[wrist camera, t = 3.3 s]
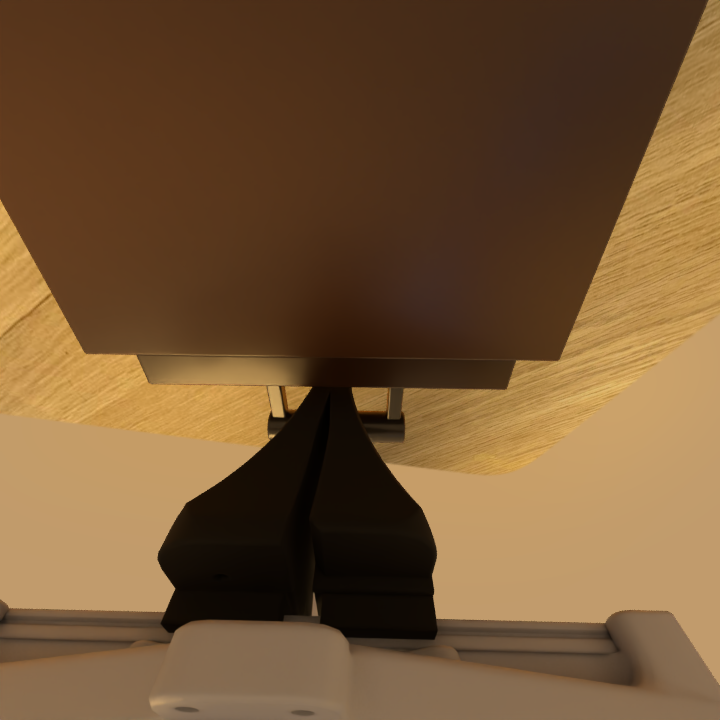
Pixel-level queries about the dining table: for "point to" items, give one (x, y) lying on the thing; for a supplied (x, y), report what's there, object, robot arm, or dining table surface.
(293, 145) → the brown drawer cabinet
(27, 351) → the dining table surface
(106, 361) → the dining table surface
